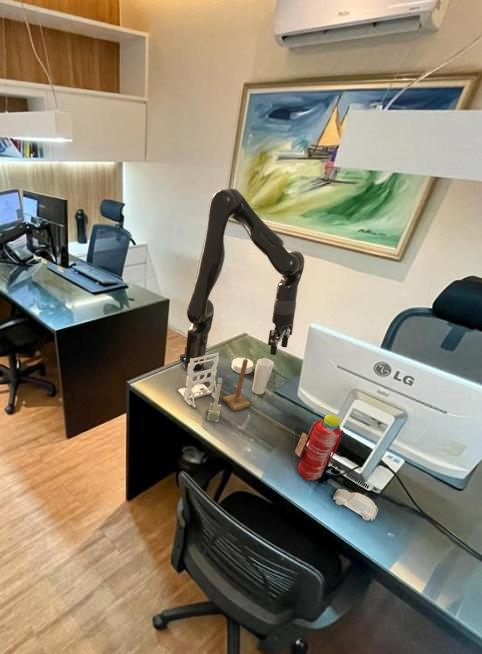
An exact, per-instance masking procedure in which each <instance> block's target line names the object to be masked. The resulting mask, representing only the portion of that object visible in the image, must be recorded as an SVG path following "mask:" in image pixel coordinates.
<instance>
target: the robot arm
mask: <svg viewBox="0 0 482 654" xmlns="http://www.w3.org/2000/svg"><path fill="white" fill-rule="evenodd" d="M230 218H231V219H233V220H234V221H236V222H238V223H239V224H240V225H241V226H242V228H243V229H244V230H245V232H246V233H247V236H248V237H249V239H250V241H251V243H253V245H254V246H255V247H256V248H257V249H258V250H259V251H260V252H261V253H262V254H263V255H264V256H266V258H267V259H268V261H269V262H270V265H271V266H272V267H273V268H274V270H275V271H276V272H277V273H278V274H279V275H281V279H280V281H279V282H278V284H277V286H276V293H275V298H274V299H275V300H274V304H273V312H272V318H271V323H273V324H274V329H270V330H269V334H268V340H267V345H268V346H270V350H269V354H270V355H272V356H276V355H277V351H278V345H279V343H280V342H281V343H280V346H281V348H287V347H288V343H289V339H290V337H291V336H292V335H293V329H294V321H295V313H296V307H297V296H298V290H299V284H300V282H301V278H302V275H303V273H304V268H305V257H304V255H303V253H302V252H300V251H298V250H293V251H290V252H289V251H288V250H287V249H286V248H285V247H284V246H285V242H284V240H283V239H282V238H281V237H280V236H279V235H278V234H277V233H276V232H275V231H274V230H272V228H271V227H269V226H268V224H266V223H265V221H264V220H263V219H261V218H260V216H259V215H258V214H257V213H256V212H255V210H254V209H253V208H252V206H251V205H250V203H248V201H247V200H246V199H245V197H244V195H243V193H241V192H240V191H239V189H236V188H232V187H231V188H225V189H219V190H217V191H216V192H215V193H214V194H213V195H212V196H211V199H210V202H209V207H208V216H207V222H206V223H207V224H206V230H205V236H204V240H203V244H202V250H201V254H200V258H199V263H198V267H197V273H196V277H195V281H194V286H193V289H192V294H191V296H190V300H189V303H188V305H187V308H186V316H187V320H188V321H189V322H190V323H191V324H190V325H189V327H188V329H187V333H186V334H187V336H186V344H185V345H186V346H185V347H184V353H182V354H180V356H179V361H180V362H182V364H183V368H184V370H185V371H187V369H188V364H189V363H190V358H191V359H194V358H198V357H202V356H206V353H207V345H208V340H209V339H208V338H209V333H210V332H211V330H212V324H213V320H214V314H215V307H214V304H213V302H212V301H211V300H210V299H209V298H210V295H211V292H212V291H213V289H214V287H215V286H216V284H217V282H218V280H219V278H220V276H221V274H222V271H223V270H222V269H223V267H224V263H225V258H226V249H225V233H226V232H225V231H226V228H227V225H228V221H229V219H230ZM198 361H199V360H196V361H194V363H197V362H198ZM201 361H204V359H201V360H200V361H199V362H201ZM205 363H206V362H204V363H200V364H196V365H195V367H194V369H193V371H194V373H197V372H201V371H204V367H205V366H204V365H205Z"/></svg>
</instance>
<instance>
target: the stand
mask: <svg viewBox="0 0 482 654" xmlns="http://www.w3.org/2000/svg"><path fill="white" fill-rule="evenodd" d="M247 359H248V358H246V359H244V360H243V364H242V368H241V373H239V377H238V382H237V386H236V391H235V393H233V394H229V395H226V396H223V397H222V401H223V402H224V403H225V404H226V405H227V406H228V407H229V408H230V409H231V410H233V411H238V410H241V409H244V408H247V407H250V406H251V403H250V401H248V400H247V399H246V398H245V397H244V396H243V395H241V392H242V389H243V384H244V380H245V375H246V374H245V372H246V367H247V363H248V360H247Z"/></svg>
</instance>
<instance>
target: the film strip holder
mask: <svg viewBox="0 0 482 654" xmlns="http://www.w3.org/2000/svg"><path fill="white" fill-rule="evenodd" d="M213 357H214V358H213ZM201 359H204V361H201V362H199V361H200V360H201ZM196 360H199V361H198V362H197V363H194V361H196ZM219 361H220V356H219V352H218V351H217V352H216V353H211V354H208V355H205V356H202V357H198V358H194V359H191V358H190V363H189V364H188V369H187V370H186V374H187V376H186V379H185V380H186V381H185V387H181V388H179V389H178V390H177V392H178V393H179V394H180V395H181V396H182V397H183V398H184V399H183V400H184V401H185V402H186V403H187V404H188V405H189V406H192V408H195V409H196V407H197V405H196V404H195V399H197V398H200V397H204V396H207V395H210V396H211V397H212V398H213V399H214V400H215V395H216V390H217V382H216V377H217V373H218V372H217V371H218V370H217V367H218V365H219ZM204 362H205V363H208V362H213V365H212V366H211V368H210V369H209V368H208V369H205V370H202V371H200V372H194V371H193V369H194V367H195V365H196V364H200V363H204ZM205 363H204V364H205ZM208 374H210V376H209V377H208ZM201 376H203V378H201ZM195 377H196V380H194V378H195ZM207 382H209V386H208V387H207V386H206V385H205V384H204V383H207ZM219 401H220V400H218V402H219Z"/></svg>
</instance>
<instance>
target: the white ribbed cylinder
mask: <svg viewBox="0 0 482 654" xmlns="http://www.w3.org/2000/svg"><path fill="white" fill-rule="evenodd" d="M244 359H247V360H248V363H247V367H246V372H245V375H248V374H251V373H252V372H253V370H254V367H255V365H254V362H253V361H252V360H251V359H249V358H246V357H236V358H234V359H232V361H231V369H232V371H233V372H235V373H237V374H240V373H241V368H242V364H243V360H244Z"/></svg>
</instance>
